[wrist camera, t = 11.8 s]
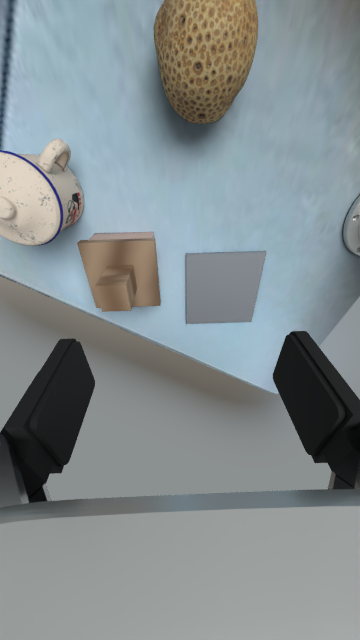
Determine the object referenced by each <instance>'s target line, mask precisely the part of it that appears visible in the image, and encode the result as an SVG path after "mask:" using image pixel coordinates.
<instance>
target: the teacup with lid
mask: <svg viewBox="0 0 360 640" xmlns="http://www.w3.org/2000/svg"><path fill="white" fill-rule="evenodd" d="M70 156H71V151H70V148H69V146H68V145H67V144H66V143H65V142H64V141H63V140H61V139H54V140H52V141H51V142H50V143H49V144H48V145H47V146H46V147H45V149H44V150H43V152H42V154H41V155H32V154H15V153H12V152H8V151H1V150H0V235H1V236H3V237H5V238H7V239H9V240H11V241H13V242H16V243H19V244H22V245H29V246H38V245H43V244H46V243H49V242H50V241H52V240H53V239H55V237H56V236H57V235H58V234H59V233H60V232H61V231H63V230H64V229H66V228H67V227H69V226H71V225H72V224H74V223H75V222H76V221H77V220H78V219H79V218H80V216H81V214H82V211H83V207H84V197H83V192H82V189H81V186H80V184H79V182H78V180H77V178H76V177H75V175H74V174H73V173H72V172H71V170H70V169H69V168H68V167H67V165H68V163H69V160H70Z"/></svg>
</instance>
